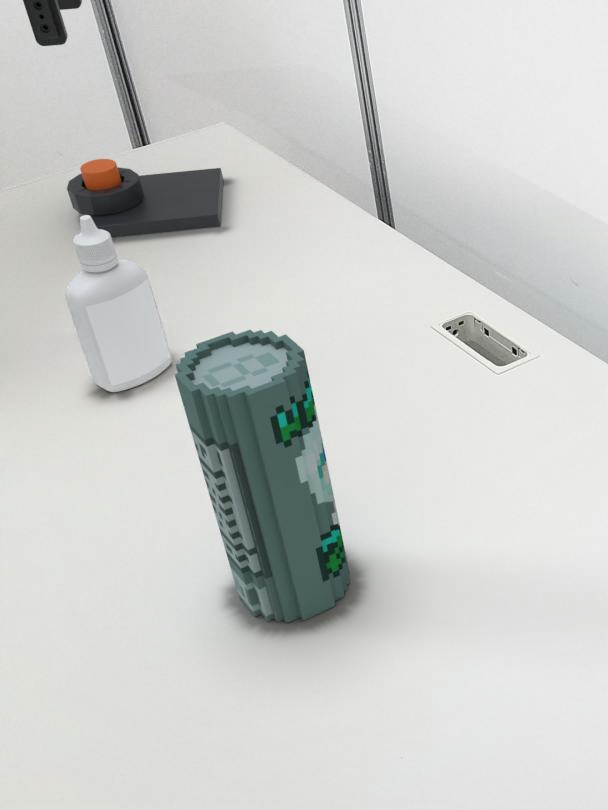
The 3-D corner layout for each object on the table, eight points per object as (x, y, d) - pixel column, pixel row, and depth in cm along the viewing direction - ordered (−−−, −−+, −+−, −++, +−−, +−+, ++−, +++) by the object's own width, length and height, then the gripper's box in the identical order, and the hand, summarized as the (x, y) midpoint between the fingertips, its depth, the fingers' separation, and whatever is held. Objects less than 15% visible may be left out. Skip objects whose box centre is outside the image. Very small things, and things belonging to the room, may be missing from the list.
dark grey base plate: (71, 242, 105) (60, 209, 103) (84, 193, 112) (74, 161, 110) (220, 227, 107) (212, 194, 105) (223, 180, 114) (216, 148, 112)
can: (366, 591, 72) (322, 366, 61) (270, 636, 69) (208, 409, 59) (317, 538, 75) (268, 318, 65) (224, 579, 72) (158, 357, 62)
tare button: (84, 194, 106) (78, 174, 105) (88, 180, 108) (82, 160, 107) (120, 190, 107) (114, 171, 105) (123, 176, 109) (117, 157, 108)
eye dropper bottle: (178, 380, 89) (132, 223, 81) (97, 398, 87) (42, 239, 79) (170, 351, 92) (125, 196, 84) (91, 367, 90) (38, 211, 82)
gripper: (-50, -237, 90) (26, 1, 101) (-96, -200, 79) (-6, 61, 90) (57, -243, 90) (121, -7, 101) (25, -207, 80) (100, 52, 91)
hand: (61, 25), depth 96 cm, fingers open, 8 cm apart
